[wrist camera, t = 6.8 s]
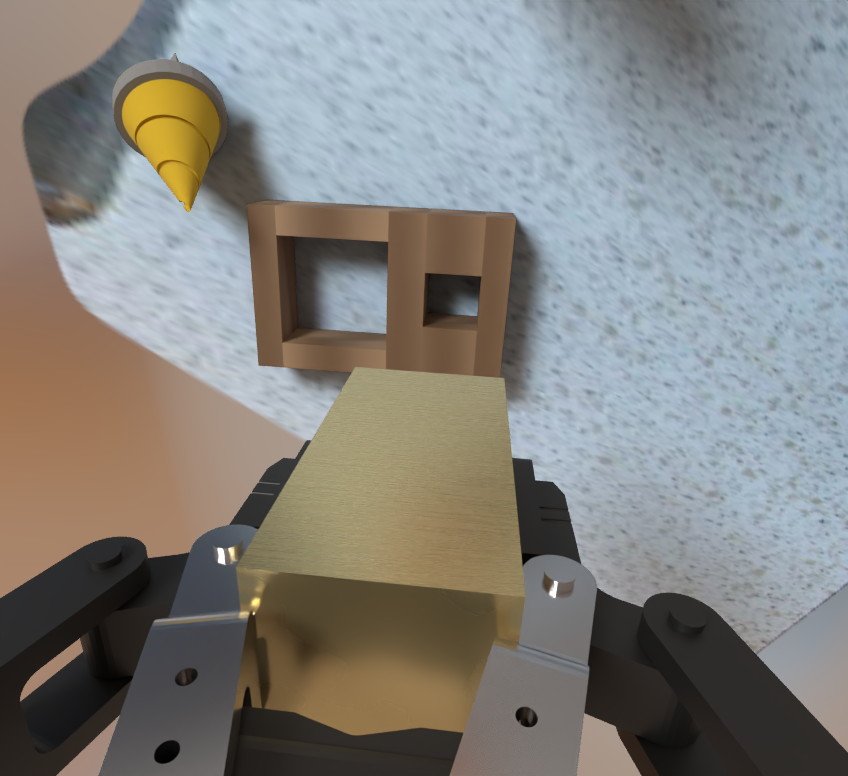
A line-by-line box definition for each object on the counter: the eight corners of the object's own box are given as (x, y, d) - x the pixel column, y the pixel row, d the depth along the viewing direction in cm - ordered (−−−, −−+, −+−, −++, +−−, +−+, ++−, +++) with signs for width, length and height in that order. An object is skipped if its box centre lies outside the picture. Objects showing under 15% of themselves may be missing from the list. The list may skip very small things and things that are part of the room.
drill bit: (227, 44, 30) (260, 176, 26) (207, 129, 34) (234, 256, 30) (112, 8, 27) (129, 151, 23) (105, 106, 31) (118, 243, 27)
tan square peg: (504, 378, 15) (525, 596, 8) (491, 505, 16) (497, 789, 9) (355, 366, 15) (235, 567, 8) (355, 492, 17) (256, 758, 9)
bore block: (513, 213, 31) (516, 218, 29) (497, 365, 35) (499, 383, 32) (266, 199, 32) (246, 204, 29) (276, 348, 36) (258, 365, 33)
